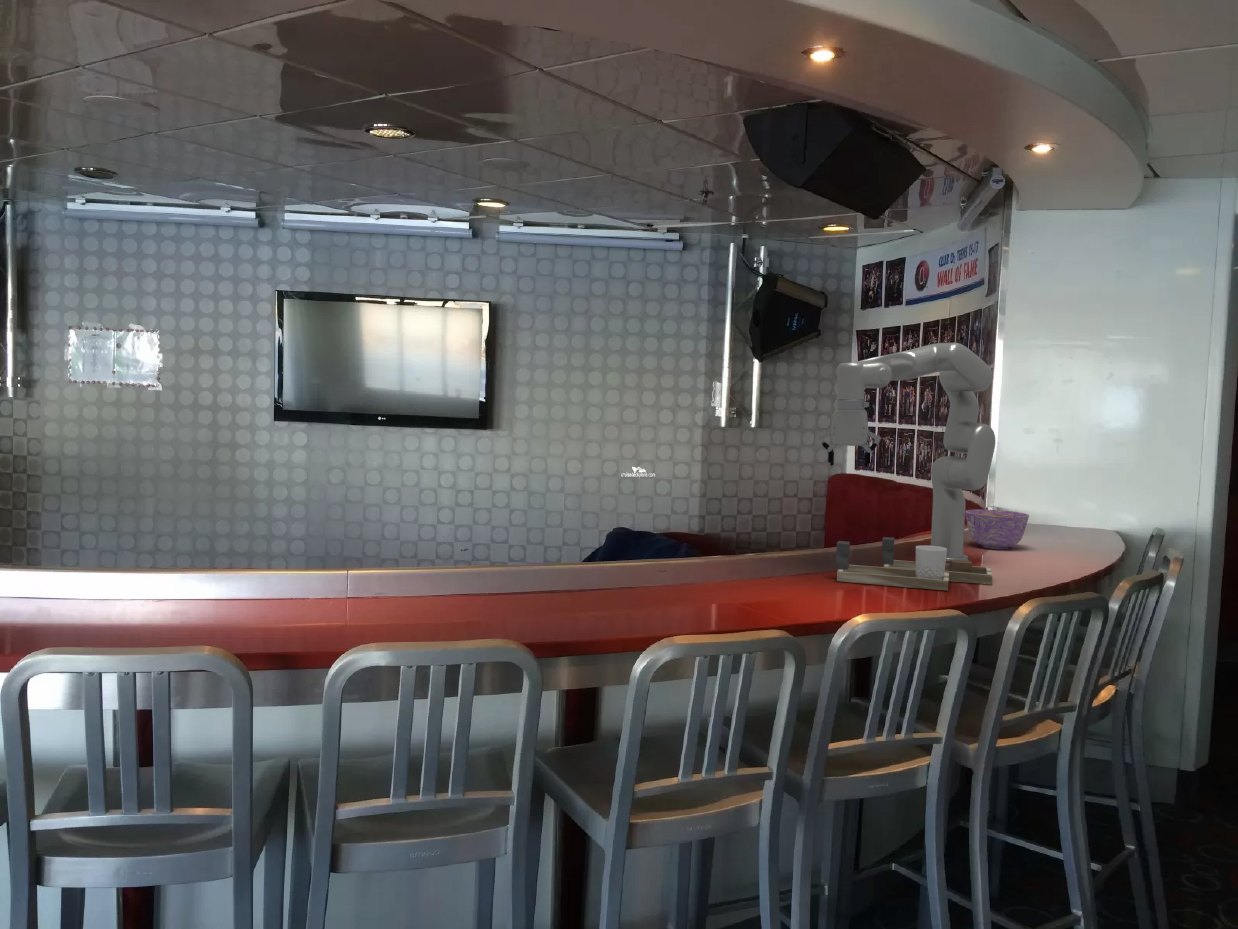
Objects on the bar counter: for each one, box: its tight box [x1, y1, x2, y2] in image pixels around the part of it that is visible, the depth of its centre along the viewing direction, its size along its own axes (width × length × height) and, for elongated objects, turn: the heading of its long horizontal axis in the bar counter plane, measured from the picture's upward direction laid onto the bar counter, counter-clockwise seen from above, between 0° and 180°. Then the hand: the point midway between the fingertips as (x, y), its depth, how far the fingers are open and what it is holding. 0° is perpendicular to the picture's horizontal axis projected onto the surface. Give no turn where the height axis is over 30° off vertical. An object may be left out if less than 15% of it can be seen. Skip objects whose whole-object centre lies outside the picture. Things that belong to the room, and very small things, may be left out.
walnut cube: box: [948, 559, 973, 573], centre depth 268 cm, size 5×5×5 cm
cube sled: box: [881, 536, 993, 585], centre depth 270 cm, size 13×29×10 cm, turn 71°
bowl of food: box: [965, 509, 1030, 550], centre depth 326 cm, size 20×20×12 cm
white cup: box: [915, 545, 947, 580], centre depth 257 cm, size 8×8×10 cm
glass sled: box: [835, 540, 950, 592], centre depth 260 cm, size 13×29×10 cm, turn 71°
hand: (849, 465), depth 279 cm, fingers open, 9 cm apart
